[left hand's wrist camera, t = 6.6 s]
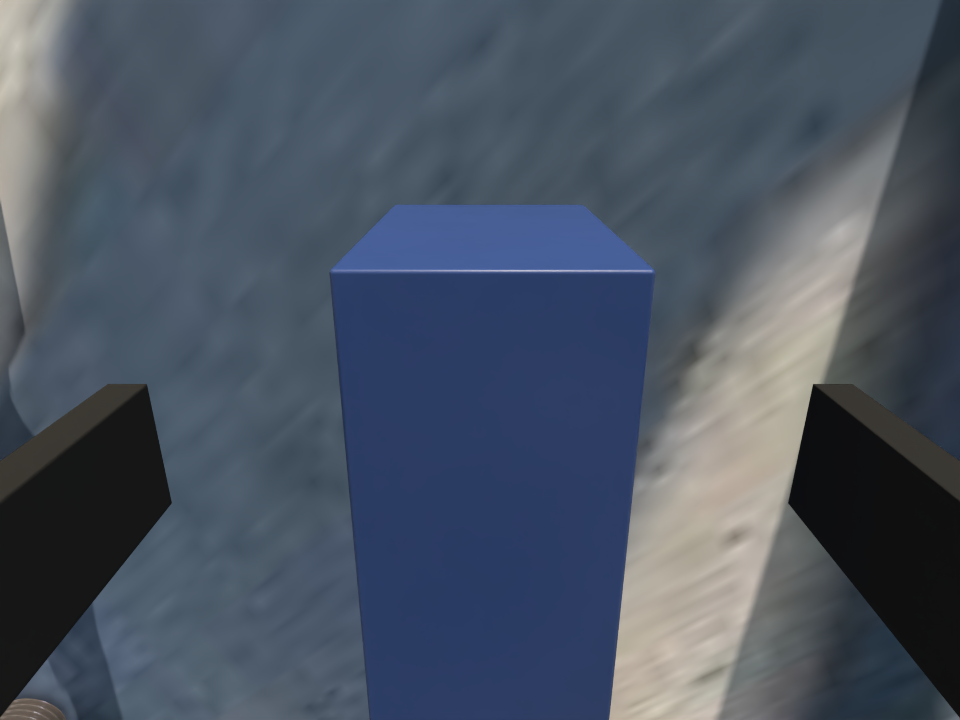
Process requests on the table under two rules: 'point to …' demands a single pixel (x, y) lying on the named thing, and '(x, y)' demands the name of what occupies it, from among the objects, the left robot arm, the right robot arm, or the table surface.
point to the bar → (491, 455)
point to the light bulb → (32, 711)
